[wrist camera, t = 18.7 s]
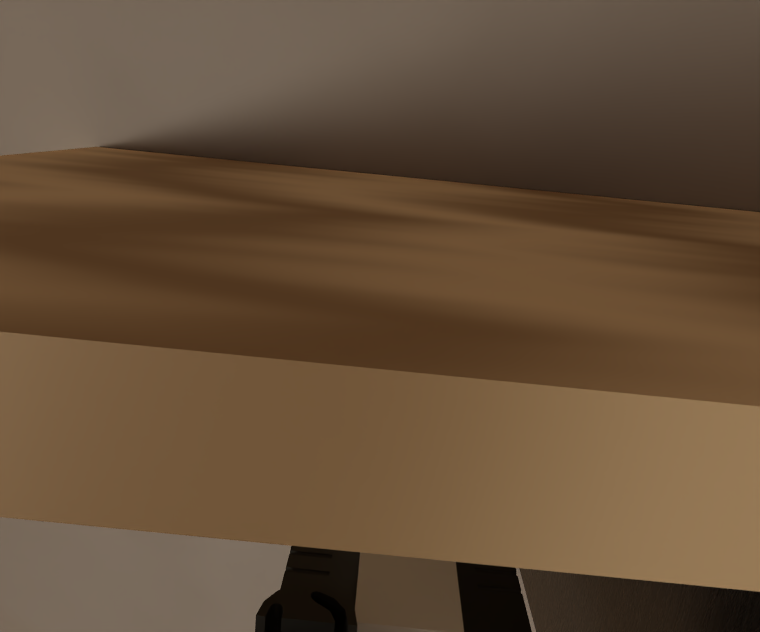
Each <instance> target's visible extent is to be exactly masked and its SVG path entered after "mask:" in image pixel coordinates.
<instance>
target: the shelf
mask: <svg viewBox="0 0 760 632" xmlns="http://www.w3.org/2000/svg"><path fill="white" fill-rule="evenodd" d="M0 517H6V518H16V519H26V520H36V521H47V522H57V523H67V524H77V525H87V526H97V527H108V528H118V529H128V530H138V531H148V532H158V533H168V534H179V535H189V536H199V537H209V538H219V539H229V540H240V541H250V542H260V543H270V544H280V545H290V546H301V547H311V548H321V549H331V550H341V551H351V552H361V553H372V554H382V555H392V556H402V557H412V558H422V559H433V560H443V561H453V562H463V563H473V564H483V565H494V566H504V567H514V568H524V569H534V570H544V571H554V572H565V573H575V574H585V575H595V576H605V577H615V578H626V579H636V580H646V581H656V582H666V583H676V584H687V585H697V586H707V587H717V588H727V589H737V590H748V591H758V592H760V212H754V211H743V210H733V209H723V208H713V207H703V206H693V205H682V204H672V203H662V202H652V201H642V200H632V199H622V198H611V197H601V196H591V195H581V194H571V193H561V192H550V191H540V190H530V189H520V188H510V187H500V186H489V185H479V184H469V183H459V182H449V181H439V180H429V179H418V178H408V177H398V176H388V175H378V174H368V173H357V172H347V171H337V170H327V169H317V168H307V167H296V166H286V165H276V164H266V163H256V162H246V161H236V160H225V159H215V158H205V157H195V156H185V155H175V154H164V153H154V152H144V151H134V150H124V149H114V148H103V147H90V148H79V149H68V150H57V151H46V152H35V153H24V154H13V155H3V156H0Z"/></svg>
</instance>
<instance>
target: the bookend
mask: <svg viewBox="0 0 760 632" xmlns="http://www.w3.org/2000/svg"><path fill="white" fill-rule="evenodd" d="M519 569H520V572H521V576H522V580H523V584H524V587H525V591H526V595H527V599H528V602H529V606H530V610H531V614H532V617H533V621H534V625H535V629H536V632H760V592H758V591H748V590H737V589H727V588H717V587H707V586H697V585H687V584H676V583H666V582H656V581H646V580H636V579H626V578H615V577H605V576H595V575H585V574H575V573H565V572H554V571H544V570H534V569H524V568H519Z"/></svg>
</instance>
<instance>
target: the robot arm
mask: <svg viewBox="0 0 760 632" xmlns="http://www.w3.org/2000/svg"><path fill="white" fill-rule="evenodd" d="M255 632H532V631H531V627H530V623H529V619H528V615H527V611H526V607H525V603H524V599H523V595H522V594H521V588H520V584H519V580H518V576H516V568H514V567H504V566H494V565H483V564H473V563H463V562H453V561H443V560H433V559H422V558H412V557H402V556H392V555H382V554H372V553H361V552H351V551H341V550H331V549H321V548H311V547H301V546H291V550H290V554H289V558H288V562H287V566H286V571H285V573H284V577H283V581H282V585H281V589H280V590H278V591H277V592H275V593H274V594H273V595H271V596H270V597H269V598H268V599H266V600H265V601H264V602H263V604H262V606H261V607H260V609H259V611H258V613H257V614H256V627H255Z"/></svg>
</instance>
